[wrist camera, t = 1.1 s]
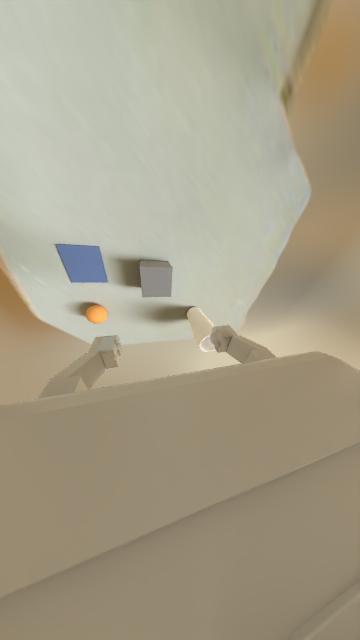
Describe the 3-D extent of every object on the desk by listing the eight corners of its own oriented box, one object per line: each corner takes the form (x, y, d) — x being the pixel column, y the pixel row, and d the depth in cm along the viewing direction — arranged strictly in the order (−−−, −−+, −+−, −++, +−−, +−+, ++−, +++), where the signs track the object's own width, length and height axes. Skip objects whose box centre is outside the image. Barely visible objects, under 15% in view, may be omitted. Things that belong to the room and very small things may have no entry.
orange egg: (86, 302, 35) (79, 311, 31) (106, 301, 36) (102, 310, 32) (92, 317, 38) (86, 327, 34) (110, 316, 39) (107, 326, 35)
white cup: (201, 302, 43) (223, 330, 31) (203, 317, 47) (223, 347, 36) (182, 307, 43) (197, 338, 31) (185, 322, 47) (199, 355, 35)
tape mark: (55, 244, 26) (55, 244, 26) (98, 246, 28) (98, 246, 28) (71, 282, 31) (71, 282, 31) (107, 282, 33) (107, 282, 33)
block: (140, 260, 32) (139, 266, 27) (168, 261, 33) (172, 267, 28) (142, 287, 36) (142, 297, 31) (167, 287, 37) (171, 296, 32)
